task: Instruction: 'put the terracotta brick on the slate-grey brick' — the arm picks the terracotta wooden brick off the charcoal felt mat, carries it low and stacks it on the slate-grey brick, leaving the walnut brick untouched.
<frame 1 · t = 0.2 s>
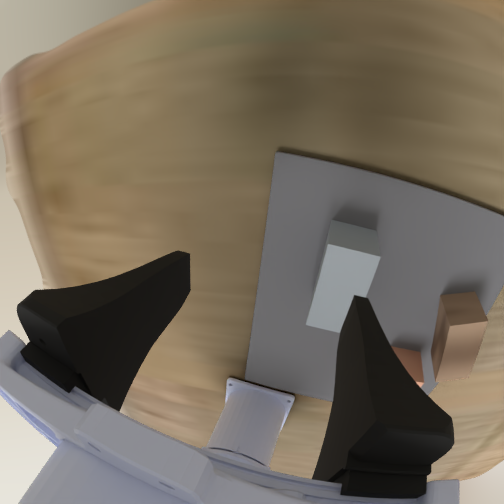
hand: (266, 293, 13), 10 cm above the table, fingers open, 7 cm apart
brick walnut: (452, 323, 20), resting on felt mat
brick slate: (343, 264, 21), resting on felt mat
felt mat: (372, 323, 23), on the table
brick terracotta: (391, 371, 25), resting on felt mat
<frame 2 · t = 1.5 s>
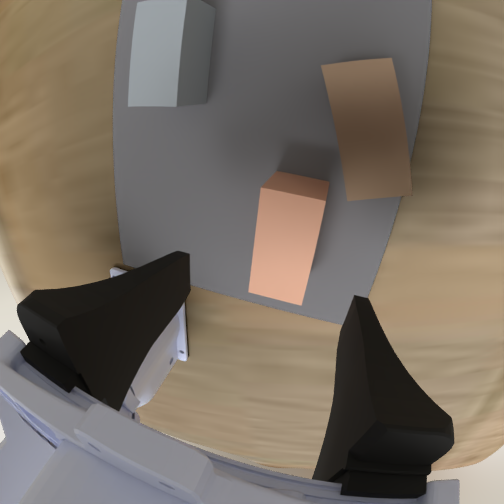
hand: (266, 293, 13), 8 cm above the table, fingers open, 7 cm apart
brick walnut: (365, 124, 15), resting on felt mat
brick slate: (187, 55, 15), resting on felt mat
felt mat: (243, 135, 17), on the table
brick terracotta: (294, 224, 19), resting on felt mat
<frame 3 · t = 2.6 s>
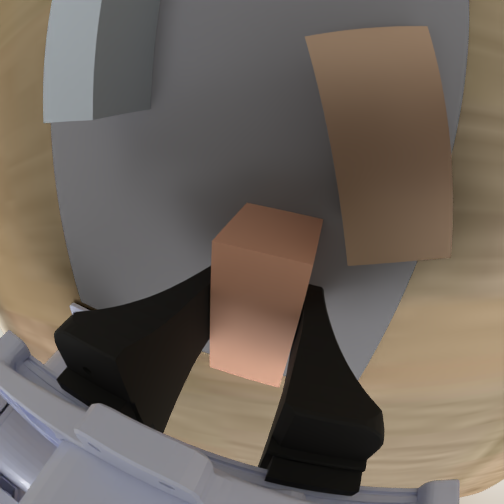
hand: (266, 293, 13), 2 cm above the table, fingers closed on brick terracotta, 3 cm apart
brick walnut: (378, 134, 10), resting on felt mat
brick slate: (126, 45, 10), resting on felt mat
felt mat: (200, 151, 12), on the table
brick terracotta: (273, 275, 14), resting on felt mat, touching gripper
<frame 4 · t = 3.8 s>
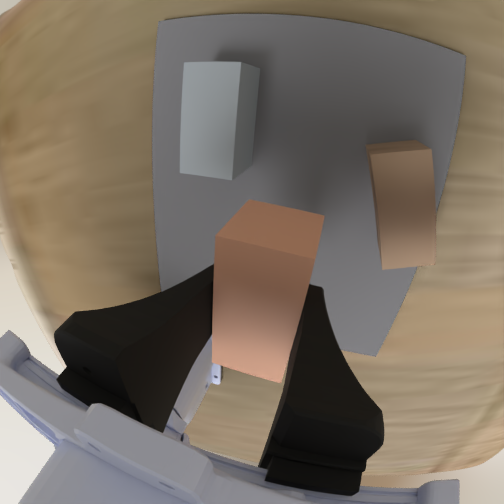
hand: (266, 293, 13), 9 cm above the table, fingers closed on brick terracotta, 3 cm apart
brick walnut: (397, 192, 17), resting on felt mat
brick slate: (231, 115, 18), resting on felt mat
felt mat: (285, 196, 20), on the table
brick terracotta: (275, 271, 14), point 7 cm above the table, touching gripper
when the fingers open (7 cm above the table, at t = 4.9 s): brick terracotta stays where it is, resting on brick slate.
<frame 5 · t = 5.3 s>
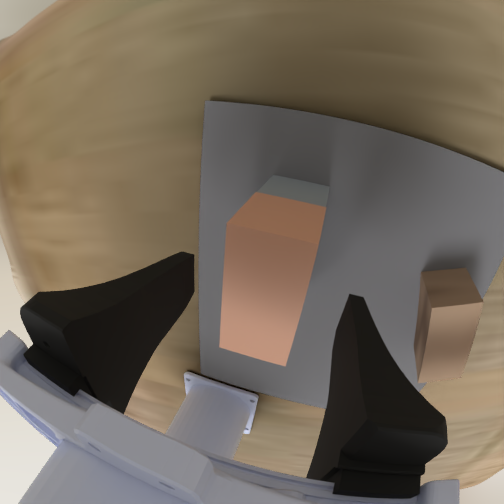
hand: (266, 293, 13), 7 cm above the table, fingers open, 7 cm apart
brick walnut: (439, 310, 17), resting on felt mat
brick slate: (292, 231, 18), resting on felt mat, touching brick terracotta
felt mat: (337, 307, 20), on the table
brick terracotta: (280, 260, 15), point 4 cm above the table, touching brick slate
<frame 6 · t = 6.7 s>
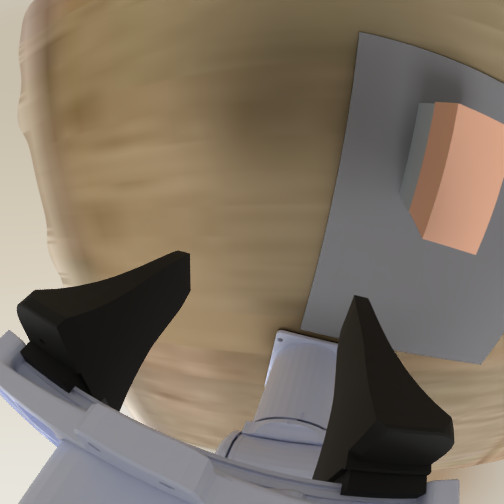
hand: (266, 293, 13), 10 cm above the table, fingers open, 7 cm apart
brick slate: (431, 155, 16), resting on felt mat, touching brick terracotta
felt mat: (457, 235, 18), on the table
brick terracotta: (448, 166, 13), point 4 cm above the table, touching brick slate
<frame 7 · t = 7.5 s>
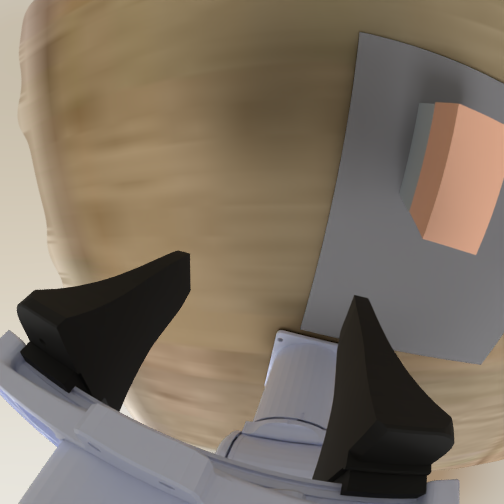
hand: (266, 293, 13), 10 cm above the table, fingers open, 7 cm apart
brick slate: (431, 155, 16), resting on felt mat, touching brick terracotta
felt mat: (457, 235, 18), on the table
brick terracotta: (449, 166, 13), point 4 cm above the table, touching brick slate
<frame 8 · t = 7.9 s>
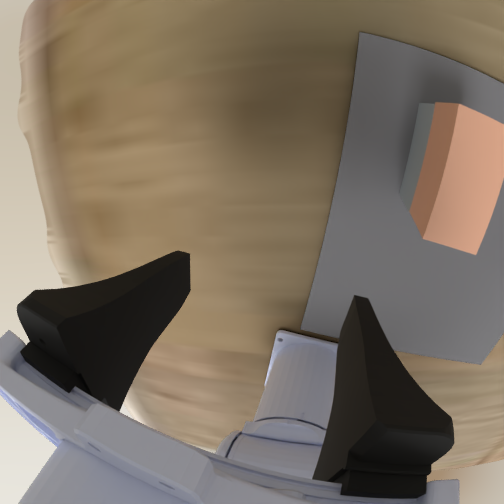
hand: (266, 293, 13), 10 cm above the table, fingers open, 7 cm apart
brick slate: (431, 155, 16), resting on felt mat, touching brick terracotta
felt mat: (457, 235, 18), on the table
brick terracotta: (449, 166, 13), point 4 cm above the table, touching brick slate
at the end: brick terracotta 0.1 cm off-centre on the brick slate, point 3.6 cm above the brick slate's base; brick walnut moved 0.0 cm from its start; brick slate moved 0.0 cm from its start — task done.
